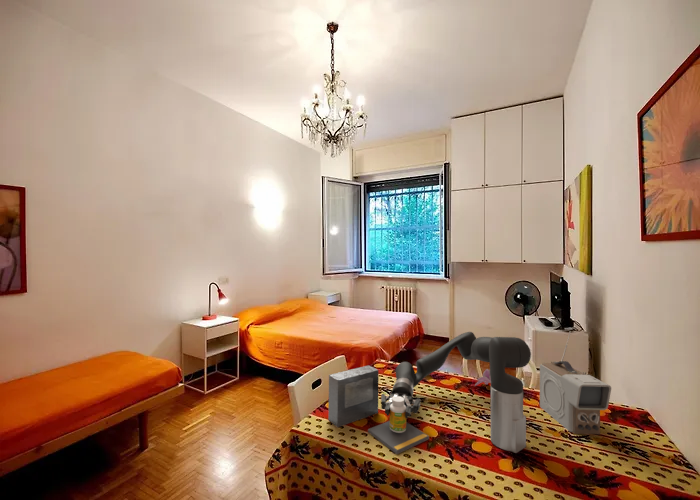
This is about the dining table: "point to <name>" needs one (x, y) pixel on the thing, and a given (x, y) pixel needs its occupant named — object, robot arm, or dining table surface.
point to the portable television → (572, 396)
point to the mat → (398, 437)
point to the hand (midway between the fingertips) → (396, 413)
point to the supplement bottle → (397, 415)
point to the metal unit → (353, 395)
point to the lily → (484, 378)
